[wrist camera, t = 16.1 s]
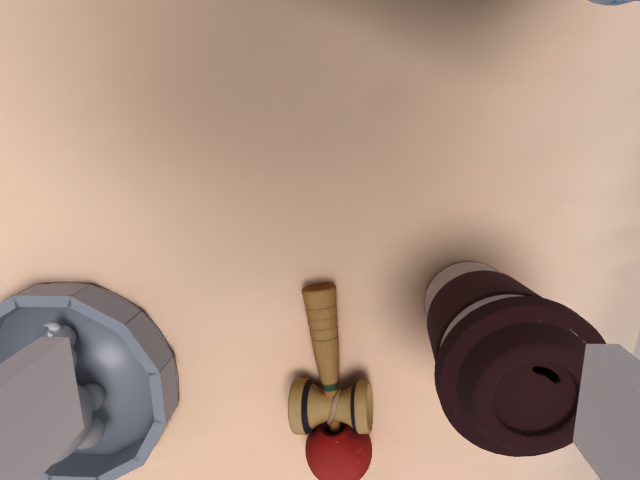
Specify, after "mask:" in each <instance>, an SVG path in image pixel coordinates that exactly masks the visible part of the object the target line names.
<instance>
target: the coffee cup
mask: <svg viewBox="0 0 640 480" xmlns="http://www.w3.org/2000/svg"><path fill="white" fill-rule="evenodd" d="M425 311H426V315H427V329H428V334H429V338H430V342H431V346H432V351H433V355H434V359H435V386H436V391H437V394H438V397H439V400H440V403H441V406H442V409H443V411H444V413H445V415H446V417H447V419H448V420H449V422H450V423H451V424H452V426H453V427H454V428H455V429H456V430H457V432H458V433H459V434H461V435H462V436H463V437H464V438H465V439H467V440H468V441H470V442H471V443H473V444H474V445H476V446H478V447H480V448H482V449H484V450H487V451H490V452H493V453H495V454H501V455H506V456H514V457H521V456H536V455H541V454H546V453H550V452H552V451H555V450H558V449H561V448H563V447H566V446H567V445H569V444H571V443H573V436H574V428H575V421H576V414H577V407H578V399H579V392H580V385H581V378H582V370H583V363H584V356H585V349H586V344H606V342H605V341H604V339H603V338H602V336H601V335H600V334H599V333H598V331H597V330H596V329H595V328H594V327H593V326H592V325H591V324H590V323H588V322H587V321H586V320H585V319H583V318H582V317H581V316H579V315H578V314H577V313H576V312H574V311H573V310H571V309H570V308H568V307H566V306H564V305H562V304H560V303H557V302H554V301H551V300H548V299H545V298H542V297H541V296H539V295H538V294H536V293H535V292H533V291H532V290H530V289H528V288H527V287H525V286H524V285H522V284H521V283H519V282H518V281H516V280H515V279H513V278H511V277H510V276H507V275H505V274H503V273H499V272H498V271H496V270H495V269H493V268H492V267H490V266H488V265H485V264H482V263H478V262H461V263H457V264H453V265H451V266H449V267H447V268H445V269H443V270H442V271H441V272H440V273H438V274H437V275H436V276H435V277H434V279H433V280H432V281H431V283H430V285H429V287H428V289H427V291H426V296H425Z"/></svg>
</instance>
